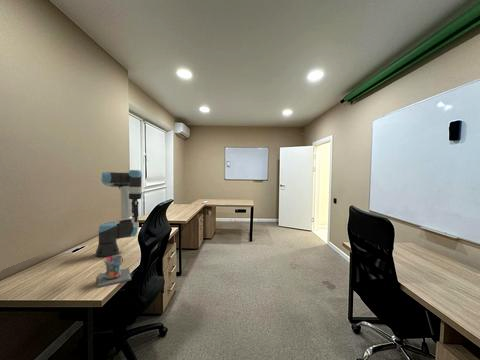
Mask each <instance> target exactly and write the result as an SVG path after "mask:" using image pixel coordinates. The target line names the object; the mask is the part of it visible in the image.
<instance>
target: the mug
mask: <svg viewBox="0 0 480 360" xmlns="http://www.w3.org/2000/svg"><path fill="white" fill-rule="evenodd" d="M103 262H104V264H105V269H106V272H105V273H106V274H105V278H107V279H113V278H116V277H119V276H120V275H121V271H120V270H121V265H122V264H123V262H124V257H123V256H122V255H112V256H108V257H104V259H103Z"/></svg>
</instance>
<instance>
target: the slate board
mask: <svg viewBox="0 0 480 360" xmlns="http://www.w3.org/2000/svg"><path fill="white" fill-rule="evenodd" d="M120 271H121V275H120V276H119V277H116V278H113V279H107V278H105V274H106V272H102V273H101V272H100V273H98V277H97V288H103V287H107V286H111V285H115V284H120V283H124V282H128V281H132V276H131V272H130V268H129V267H128V268H123V269H121V268H120Z"/></svg>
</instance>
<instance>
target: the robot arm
mask: <svg viewBox="0 0 480 360" xmlns="http://www.w3.org/2000/svg"><path fill="white" fill-rule="evenodd" d="M142 176H143V172H142V170H139V169H130V170H129V171H128V172H114V171H111V172H109V171H105V172H102V173H101V179H100V180H101V183H102V184H103V185H104V186H108V187H111V188H114V187H115V188H117V189H118V190H119V191H120V209H121V210H120V213H121V214H120V215H121V219H119V222H116V221H110V222H106V223H102V224H100V225H99V227H98V231H97V232H98V245H97V247H96V250H95V257H97V258H107V257H110V256H116V255H118V254H119V253H120V248H119V246H118V244H117V240H118V239H125V238H134V237H136V236H137V234H138V229H139V205H140V203H139V201H138V200H141V199H142V187H143V186H142V178H143V177H142Z"/></svg>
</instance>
